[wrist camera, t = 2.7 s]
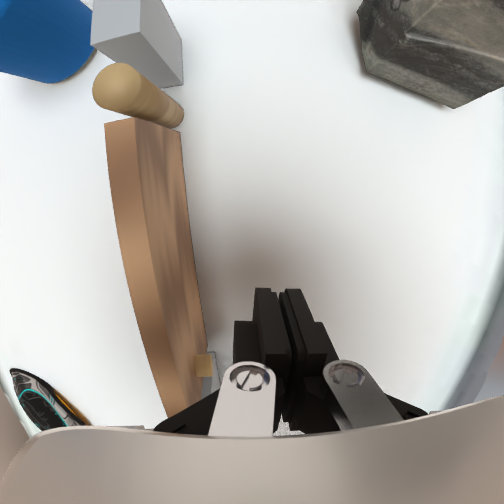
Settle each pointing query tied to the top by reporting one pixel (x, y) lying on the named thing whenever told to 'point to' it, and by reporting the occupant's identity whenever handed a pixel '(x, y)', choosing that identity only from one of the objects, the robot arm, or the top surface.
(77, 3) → the beverage can
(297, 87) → the top surface
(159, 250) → the door
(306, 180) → the top surface
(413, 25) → the stone block
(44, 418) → the computer mouse
